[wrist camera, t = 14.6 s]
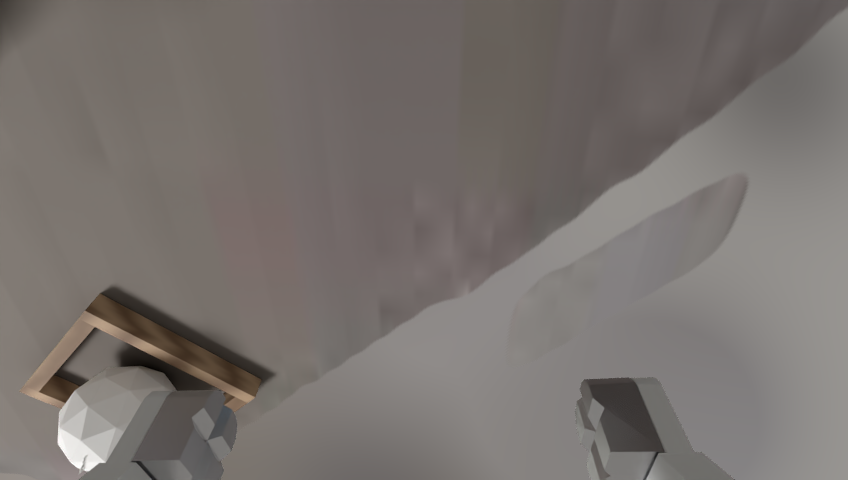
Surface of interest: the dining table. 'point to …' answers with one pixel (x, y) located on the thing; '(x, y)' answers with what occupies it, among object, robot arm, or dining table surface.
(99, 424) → the geodesic sphere
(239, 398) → the wooden rectangular frame
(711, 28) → the dining table surface
